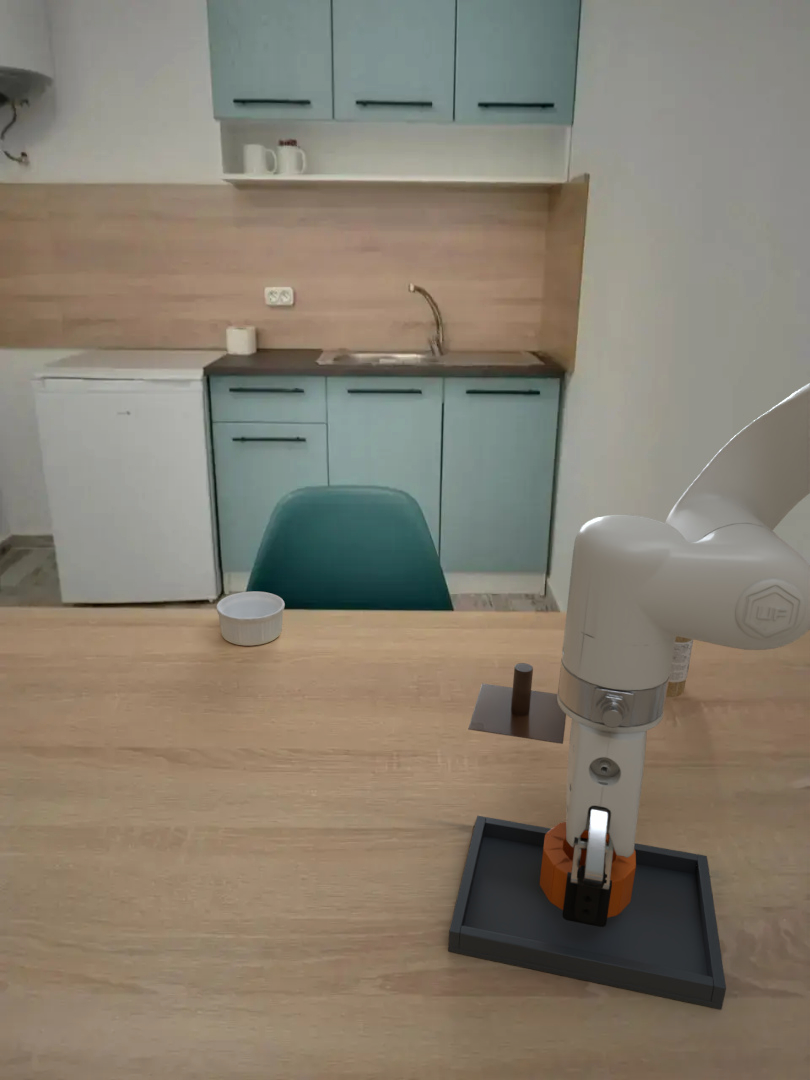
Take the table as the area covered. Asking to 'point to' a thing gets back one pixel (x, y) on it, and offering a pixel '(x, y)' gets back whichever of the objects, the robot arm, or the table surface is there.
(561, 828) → the orange octagonal ring
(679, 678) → the sprinkles bottle
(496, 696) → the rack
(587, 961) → the tray
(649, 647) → the robot arm
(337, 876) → the table surface
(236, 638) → the ramekin
